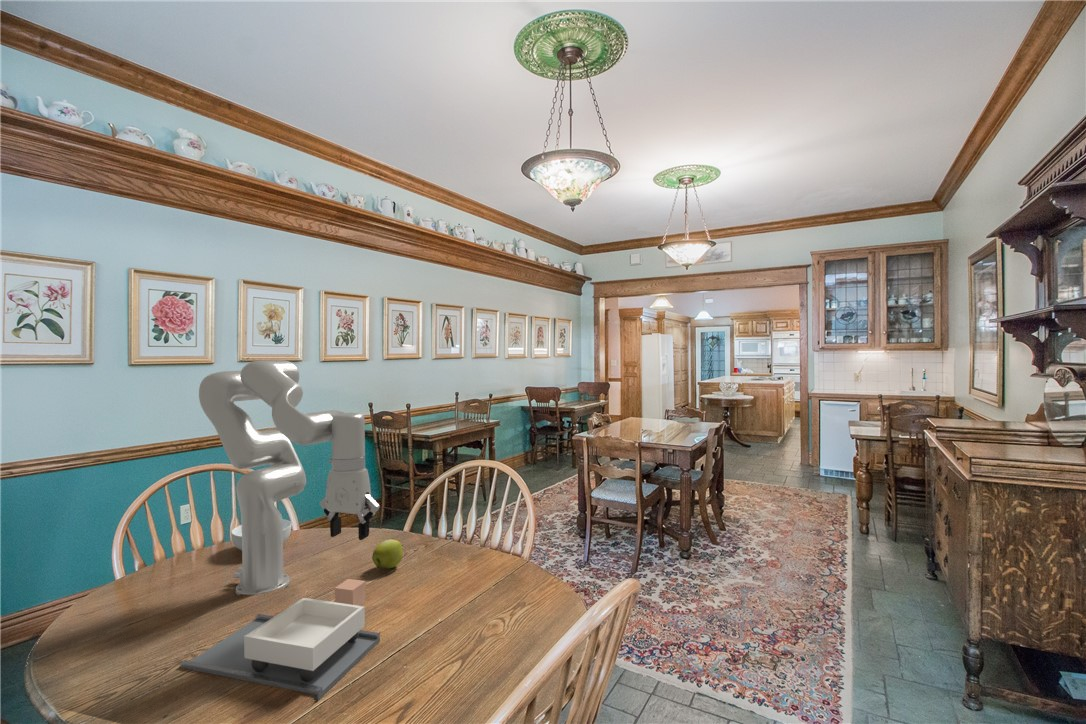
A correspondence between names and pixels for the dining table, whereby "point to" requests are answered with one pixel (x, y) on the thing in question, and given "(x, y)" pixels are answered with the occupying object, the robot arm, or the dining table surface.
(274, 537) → the robot arm
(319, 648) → the cart
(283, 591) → the dining table surface
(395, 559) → the apple
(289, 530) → the cereal bowl
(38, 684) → the dining table surface
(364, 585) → the block
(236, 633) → the track
